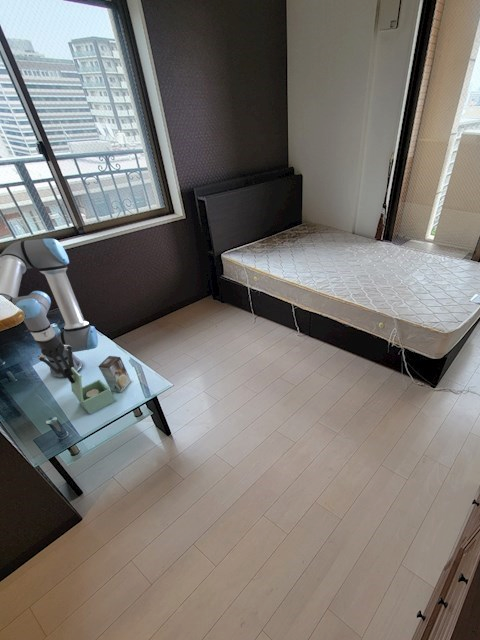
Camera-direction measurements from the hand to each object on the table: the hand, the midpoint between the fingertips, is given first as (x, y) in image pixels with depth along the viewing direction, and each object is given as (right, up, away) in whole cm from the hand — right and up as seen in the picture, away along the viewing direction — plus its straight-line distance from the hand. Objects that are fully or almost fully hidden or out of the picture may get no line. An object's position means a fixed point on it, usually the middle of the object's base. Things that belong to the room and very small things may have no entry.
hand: (72, 381), depth 154 cm
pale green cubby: (+3, -10, +14) cm, 17 cm away
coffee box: (+10, -1, +23) cm, 25 cm away
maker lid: (+1, -1, +2) cm, 2 cm away
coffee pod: (+3, -9, +13) cm, 16 cm away
